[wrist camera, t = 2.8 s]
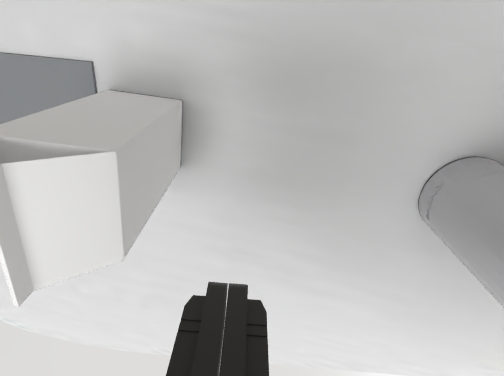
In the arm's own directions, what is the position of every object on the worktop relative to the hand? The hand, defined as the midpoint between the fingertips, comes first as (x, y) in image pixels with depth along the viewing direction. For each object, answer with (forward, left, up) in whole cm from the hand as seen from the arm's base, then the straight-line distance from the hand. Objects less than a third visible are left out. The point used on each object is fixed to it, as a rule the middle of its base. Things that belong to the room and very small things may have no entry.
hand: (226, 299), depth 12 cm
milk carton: (+10, 0, -21) cm, 23 cm away
